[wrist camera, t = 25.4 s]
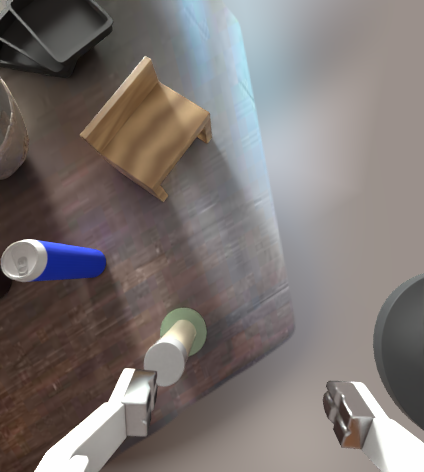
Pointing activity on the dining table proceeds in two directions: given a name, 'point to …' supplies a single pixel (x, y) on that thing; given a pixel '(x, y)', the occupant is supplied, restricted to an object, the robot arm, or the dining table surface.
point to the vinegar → (4, 283)
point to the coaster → (191, 317)
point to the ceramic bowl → (11, 134)
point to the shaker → (171, 353)
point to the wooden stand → (146, 129)
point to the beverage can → (50, 261)
